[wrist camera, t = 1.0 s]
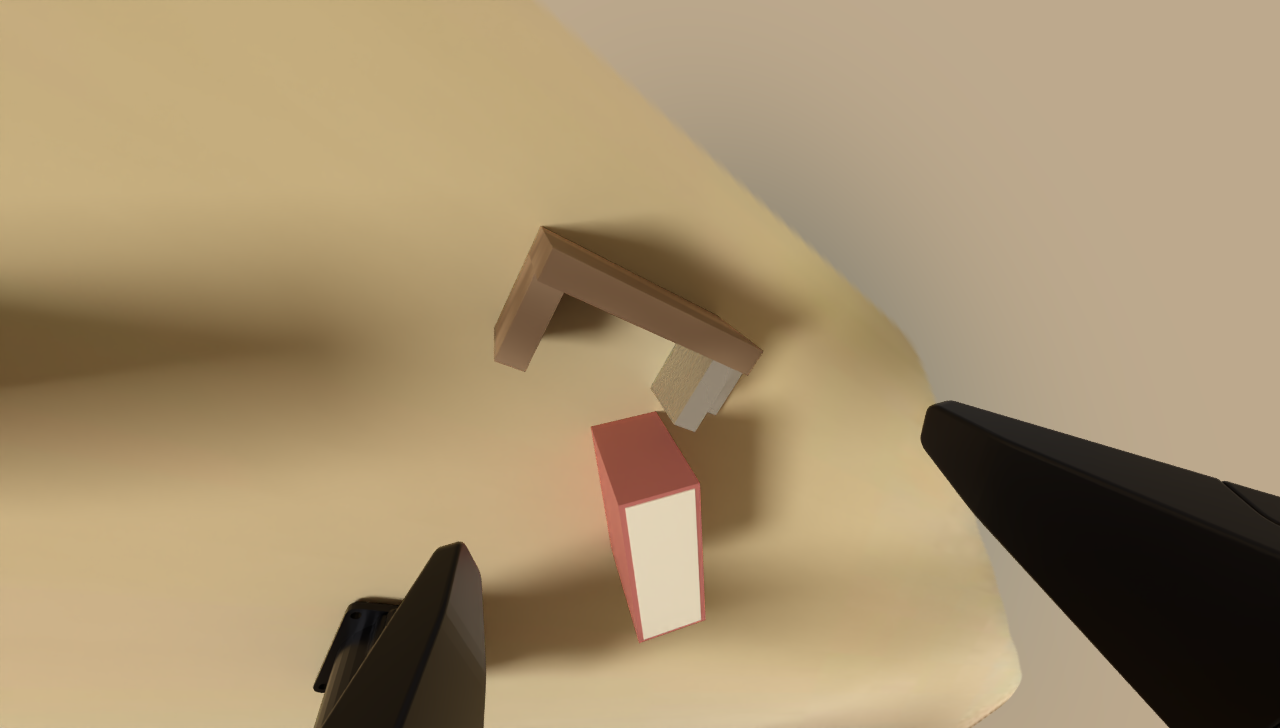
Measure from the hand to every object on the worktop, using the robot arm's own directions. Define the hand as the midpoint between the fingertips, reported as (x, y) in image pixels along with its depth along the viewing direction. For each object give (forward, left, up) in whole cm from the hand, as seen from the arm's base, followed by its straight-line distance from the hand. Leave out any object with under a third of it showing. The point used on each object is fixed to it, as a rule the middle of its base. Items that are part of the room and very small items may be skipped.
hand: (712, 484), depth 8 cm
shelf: (-1, -2, -14) cm, 14 cm away
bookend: (-1, -8, -14) cm, 15 cm away
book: (-9, -7, -14) cm, 18 cm away
